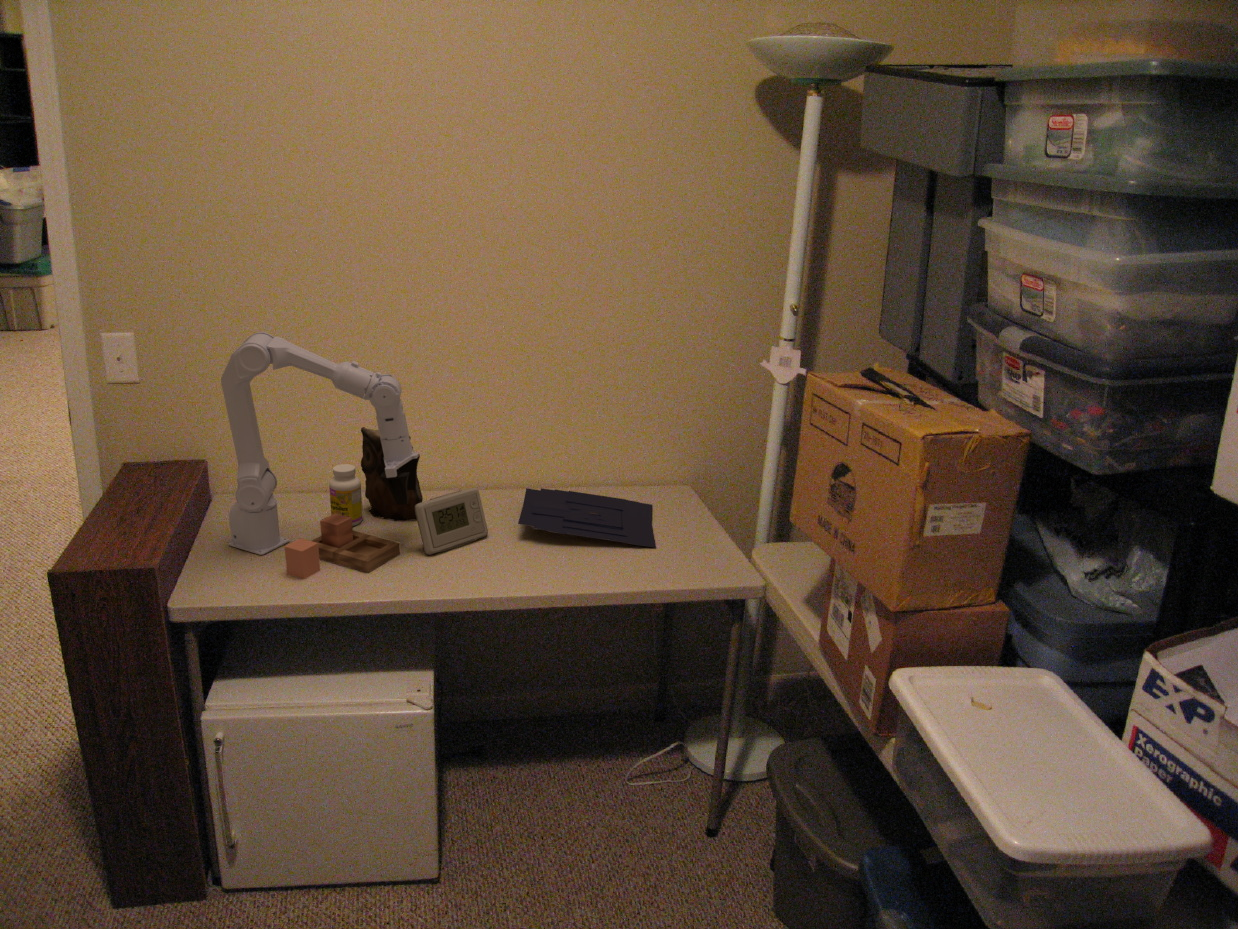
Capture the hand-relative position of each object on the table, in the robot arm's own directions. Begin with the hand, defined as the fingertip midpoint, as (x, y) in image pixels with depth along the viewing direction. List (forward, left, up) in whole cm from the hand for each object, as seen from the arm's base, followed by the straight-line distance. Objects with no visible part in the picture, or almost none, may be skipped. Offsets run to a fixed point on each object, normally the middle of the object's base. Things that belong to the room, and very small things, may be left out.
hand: (406, 496), depth 200 cm
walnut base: (-6, -10, -11) cm, 16 cm away
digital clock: (+8, +5, -11) cm, 14 cm away
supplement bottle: (-18, +2, -11) cm, 21 cm away
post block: (-9, -21, -11) cm, 26 cm away
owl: (-12, +13, -11) cm, 20 cm away
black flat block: (+28, +29, -11) cm, 41 cm away
